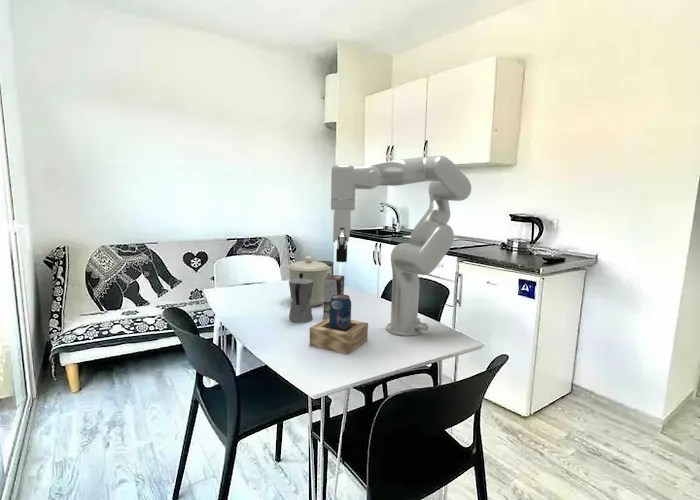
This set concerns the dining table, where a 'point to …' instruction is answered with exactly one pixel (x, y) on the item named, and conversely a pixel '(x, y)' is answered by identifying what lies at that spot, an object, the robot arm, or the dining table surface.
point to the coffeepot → (300, 299)
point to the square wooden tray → (338, 336)
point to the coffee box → (331, 291)
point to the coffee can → (330, 264)
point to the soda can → (340, 313)
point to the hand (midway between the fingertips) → (341, 259)
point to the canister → (311, 276)
